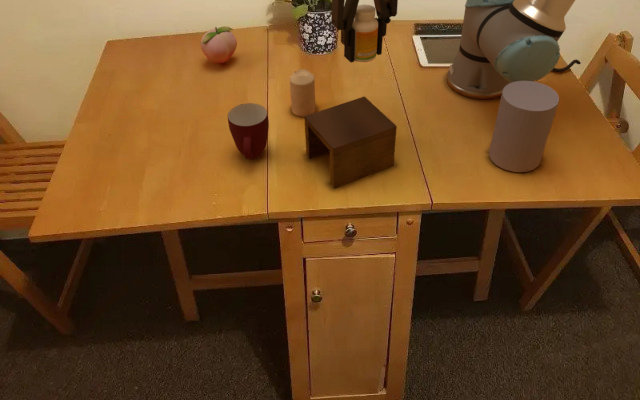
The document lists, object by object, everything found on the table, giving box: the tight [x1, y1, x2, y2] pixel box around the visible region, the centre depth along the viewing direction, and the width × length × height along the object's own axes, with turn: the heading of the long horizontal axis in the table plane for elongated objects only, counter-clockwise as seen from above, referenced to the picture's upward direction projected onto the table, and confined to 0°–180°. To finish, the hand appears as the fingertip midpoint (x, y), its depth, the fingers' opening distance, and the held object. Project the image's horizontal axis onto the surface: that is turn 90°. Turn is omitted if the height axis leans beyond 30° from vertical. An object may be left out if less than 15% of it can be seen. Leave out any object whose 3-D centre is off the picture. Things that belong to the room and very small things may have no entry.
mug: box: [227, 102, 270, 160], centre depth 119 cm, size 10×8×10 cm
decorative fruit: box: [200, 26, 238, 64], centre depth 147 cm, size 9×8×10 cm
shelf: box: [303, 95, 398, 189], centre depth 117 cm, size 14×12×10 cm
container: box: [488, 81, 560, 173], centre depth 115 cm, size 10×10×15 cm
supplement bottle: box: [352, 4, 378, 63], centre depth 111 cm, size 5×5×10 cm
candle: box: [289, 68, 317, 118], centre depth 131 cm, size 6×6×10 cm
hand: (362, 55), depth 114 cm, fingers closed on supplement bottle, 5 cm apart
